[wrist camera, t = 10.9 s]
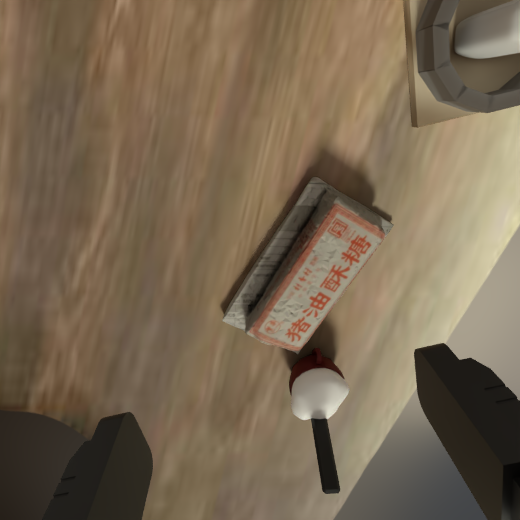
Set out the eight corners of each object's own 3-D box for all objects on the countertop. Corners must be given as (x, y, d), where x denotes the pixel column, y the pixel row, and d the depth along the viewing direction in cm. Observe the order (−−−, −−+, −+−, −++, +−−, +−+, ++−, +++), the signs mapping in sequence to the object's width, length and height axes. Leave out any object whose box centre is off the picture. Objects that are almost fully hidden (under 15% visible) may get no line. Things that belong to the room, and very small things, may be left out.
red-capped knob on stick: (303, 331, 44) (323, 404, 32) (352, 348, 45) (387, 424, 33) (271, 395, 47) (279, 482, 35) (317, 409, 48) (340, 498, 36)
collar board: (401, -28, 30) (425, -47, 27) (551, -68, 30) (598, -92, 26) (412, 126, 35) (433, 130, 31) (542, 94, 35) (580, 93, 31)
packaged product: (321, 182, 32) (410, 236, 35) (310, 172, 37) (390, 221, 39) (219, 338, 38) (302, 376, 40) (221, 313, 42) (296, 349, 45)
